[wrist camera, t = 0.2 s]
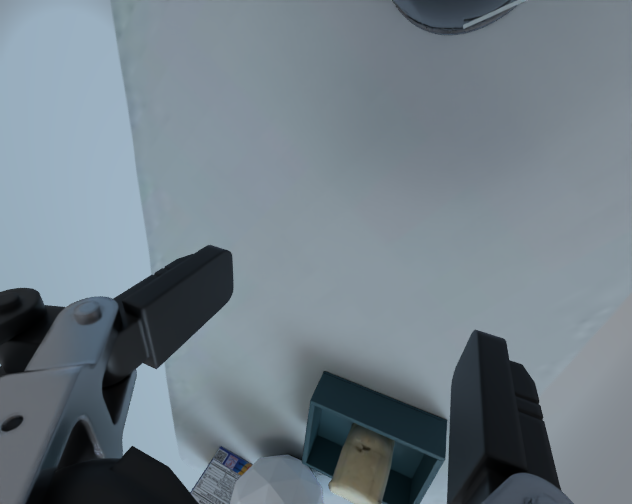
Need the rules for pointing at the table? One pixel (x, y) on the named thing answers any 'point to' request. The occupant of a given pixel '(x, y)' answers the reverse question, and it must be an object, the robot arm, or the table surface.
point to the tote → (383, 418)
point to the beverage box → (219, 478)
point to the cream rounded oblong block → (363, 466)
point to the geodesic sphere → (277, 483)
